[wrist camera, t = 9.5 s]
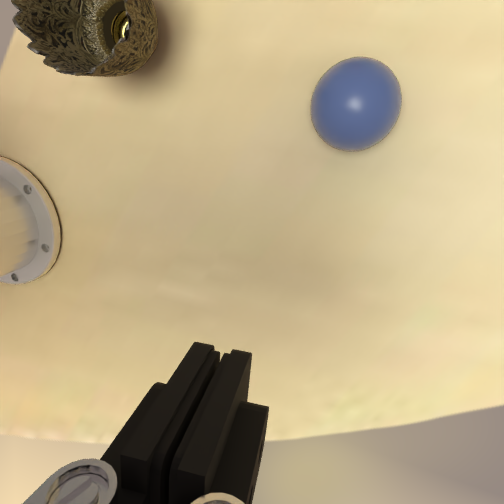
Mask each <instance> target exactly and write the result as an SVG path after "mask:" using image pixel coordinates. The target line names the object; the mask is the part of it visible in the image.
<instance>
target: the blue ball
mask: <svg viewBox="0 0 504 504" xmlns="http://www.w3.org/2000/svg"><path fill="white" fill-rule="evenodd" d="M401 102H402V97H401V89H400V86H399V82H398V80H397V78H396V76H395V75H394V74H393V72H392V71H391V70H390V69H389V68H388V67H387V66H386V65H385V64H383V63H382V62H380V61H378V60H375V59H372V58H367V57H354V58H349V59H346V60H343V61H341V62H339V63H337V64H336V65H334V66H333V67H331V68H330V69H329V70H328V71H327V72H326V73H325V74H324V75H323V76H322V77H321V79H320V80H319V82H318V83H317V85H316V87H315V90H314V92H313V95H312V100H311V118H312V122H313V125H314V127H315V129H316V131H317V133H318V134H319V136H320V137H321V138H322V139H323V140H324V141H325V142H326V143H327V144H329V145H330V146H332V147H334V148H337V149H339V150H343V151H359V150H364V149H367V148H369V147H372V146H373V145H375V144H377V143H378V142H380V141H381V140H382V139H384V138H385V137H386V136H387V135H388V134H389V132H390V131H391V130H392V128H393V127H394V125H395V123H396V121H397V119H398V116H399V113H400V109H401Z"/></svg>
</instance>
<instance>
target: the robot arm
mask: <svg viewBox="0 0 504 504" xmlns="http://www.w3.org/2000/svg"><path fill="white" fill-rule="evenodd" d="M60 241H61V240H60V226H59V221H58V216H57V213H56V211H55V208H54V205H53V203H52V201H51V199H50V197H49V196H48V194H47V192H46V191H45V189H44V188H43V187H42V185H41V184H40V183H39V181H38V180H37V179H36V178H35V177H34V176H33V175H32V174H31V173H30V172H29V171H28V170H26V169H25V168H23V167H22V166H21V165H19V164H18V163H16V162H14V161H11V160H9V159H7V158H3V157H0V282H3V283H6V284H15V285H16V284H25V283H28V282H31V281H33V280H35V279H37V278H39V277H41V276H43V275H44V274H45V273H47V272H48V271H49V270H50V269H51V267H52V266H53V264H54V263H55V261H56V258H57V255H58V253H59V248H60ZM251 360H252V353H250V352H244V351H239V350H234V349H233V350H232V351H231V353H230V354H228V353H224V355H223V357H222V359H221V361H220V352H218V351H214V346H213V345H209V344H204V343H199V342H194V343H193V345H192V346H191V348H190V349H189V351H188V352H187V354H186V355H185V357H184V358H183V360H182V361H181V363H180V364H179V366H178V367H177V369H176V370H175V372H174V374H173V375H172V377H171V378H170V380H169V381H168V383H167V384H164V383H159V382H157V383H155V384H154V385H153V386H152V387H151V389H150V390H149V391H148V393H147V394H146V396H145V397H144V398H143V400H142V401H141V403H140V404H139V406H138V407H137V408H136V410H135V411H134V413H133V414H132V415H131V417H130V418H129V420H128V421H127V422H126V424H125V425H124V427H123V428H122V429H121V431H120V432H119V434H118V435H117V436H116V438H115V439H114V441H113V442H112V443H111V445H110V446H109V448H108V449H107V451H106V452H105V453H104V455H103V456H102V458H101V459H100V460H97V459H82V460H78V461H75V462H72V463H70V464H68V465H66V466H64V467H62V468H60V469H59V470H58V471H56V472H55V473H54V474H53V475H51V476H50V477H49V478H48V479H47V480H46V481H45V482H44V483H43V484H42V485H41V486H40V487H39V488H38V489H37V490H36V491H35V492H34V493H33V494H32V495H31V496H30V497H29V498H28V499H27V500H26V501H25V502H24V503H23V504H252V500H253V495H254V491H255V485H256V481H257V476H258V471H259V467H260V462H261V457H262V452H263V446H264V441H265V434H266V427H267V420H268V412H269V407H267V406H263V405H258V404H254V403H249V402H247V398H248V388H249V379H250V369H251Z"/></svg>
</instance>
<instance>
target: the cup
mask: <svg viewBox="0 0 504 504" xmlns="http://www.w3.org/2000/svg"><path fill="white" fill-rule="evenodd" d="M11 2H12V4H13V5H14V6H15V7H16V8H17V9H19V10H20V11H19V12H17V14H16V15H15V16H14V17H13V22H14V24H15V26H16V27H17V28H18V29H19V30H20V31H21V32H22V33H23V34H24V35H26V36H27V37H28V38H30V39H31V41H32V42H30V43H29V44H28V46H27V47H28V48H29V49H30V50H32V51H33V52H35V53H36V54H40V55H43V56H46V57H45V59H44V61H43V63H44V64H45V65H47V66H49V67H53V68H54V69H56V71H57V72H60V73H64V74H71V75H75V76H80V75H83V76H104V77H110V76H122V75H126V74H129V73H132V72H134V71H136V70H138V69H139V68H140V67H142V66H143V65H144V64H145V63H146V62H147V60H148V59H149V58H150V56H151V55H152V54H153V52H154V51H155V49H156V46H157V42H158V24H157V17H156V12H155V9H154V5H153V3H152V0H11Z"/></svg>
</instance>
